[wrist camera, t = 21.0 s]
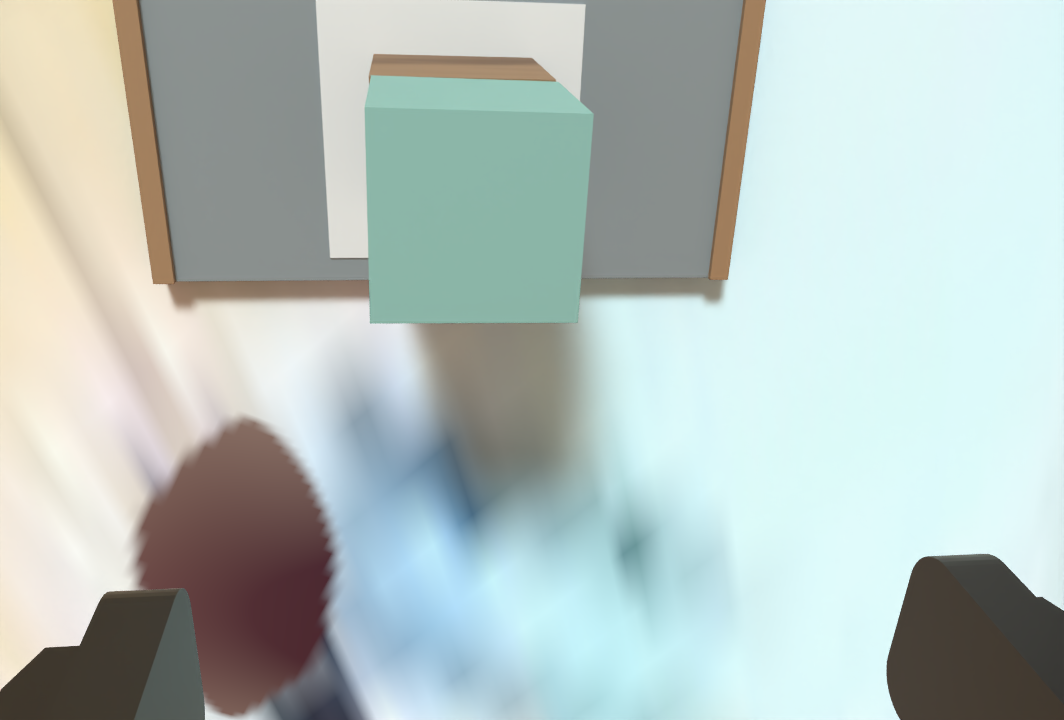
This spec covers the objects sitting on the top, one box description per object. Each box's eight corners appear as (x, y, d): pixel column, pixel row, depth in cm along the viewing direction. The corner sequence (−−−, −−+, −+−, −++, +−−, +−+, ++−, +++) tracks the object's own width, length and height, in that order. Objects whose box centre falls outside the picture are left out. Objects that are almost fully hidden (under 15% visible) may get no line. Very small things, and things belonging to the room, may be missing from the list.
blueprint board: (118, -44, 33) (106, -43, 31) (754, -19, 36) (768, -18, 35) (162, 271, 38) (153, 284, 36) (716, 268, 41) (727, 279, 40)
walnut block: (373, 53, 34) (368, 75, 29) (532, 57, 35) (556, 79, 29) (378, 209, 37) (375, 257, 31) (526, 210, 37) (547, 256, 32)
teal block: (371, 75, 29) (364, 107, 23) (558, 81, 29) (593, 113, 24) (375, 256, 31) (370, 323, 26) (547, 257, 32) (578, 322, 27)
